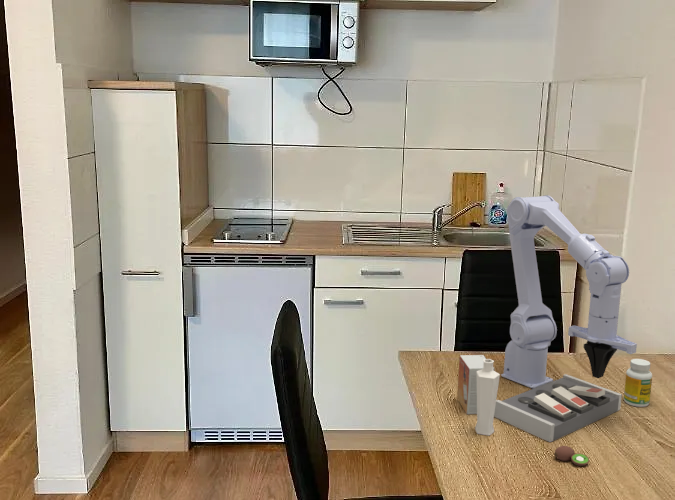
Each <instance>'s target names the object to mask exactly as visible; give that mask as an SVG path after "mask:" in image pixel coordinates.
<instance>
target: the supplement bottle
mask: <svg viewBox="0 0 675 500" xmlns="http://www.w3.org/2000/svg"><path fill="white" fill-rule="evenodd" d="M629 366H630V367H629V368H628V369H627V370H626V372H625V382H624V389H623V390H624V393H623V400H624V401H623V402H625V403H626V404H628V405H630V406H633V407H637V408H639V407H641V408H643V407H644V408H645V407H647V406H648V405H650V400H651V392H652V383H653V373H652V372H651V371H650V369H651V362H650V361H649V360H646V359H642V358H632V359H630V363H629Z"/></svg>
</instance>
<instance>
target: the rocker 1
mask: <svg viewBox="0 0 675 500" xmlns="http://www.w3.org/2000/svg"><path fill="white" fill-rule="evenodd" d="M534 401H535V402H537V403H538V404H540V405H541V406H543V407H544V408H546V409H547V410H549V411H550V412H552V413H555V414H557V415H560V416H562V417H565V416H567V415H569V414H571V410H569V409H568V408H566V407H565V406H563V405H562V404H560V403H559V402H557V401H555V400H554V399H552V398H551V397H549V396H548V395H546V394H545V393H542V394H540V395H537V396H535V398H534Z"/></svg>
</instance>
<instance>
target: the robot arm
mask: <svg viewBox="0 0 675 500" xmlns="http://www.w3.org/2000/svg"><path fill="white" fill-rule="evenodd" d="M506 215H507V224H508V225H507V226H508V233H509V242H510V248H511V256H512V257H511V258H512V263H513V272H514V279H515V285H516V286H515V287H516V293H517V295H516V296H517V299H518V300H517V302H518V305H517V307H516V308H515V309H514V311H513V312H511V314H510V326H509V335H510V338H511V340H510V341H509V342H508V343H507V344H506V347H505V351H504V361H503V362H504V364H503V373H501V374H500V375H501V377H503V378H504V379H508V380H510V381H513V382H515V383H518V384H521V385H523V386H525V387H528V388H529V389H534V388H537V387H539V386H542V385H545V384H547V383H550V382H553V381H554V378H551V377H548V376H546V375H547V364H548V349H549V347H550V346H551V342H552V341H554V339H556V337H557V335H558V334H557V331H558V329H557V328H558V327H557V324H556V321H555V320H554V317H553V312H552V310H551V308H550V307H548V306H547V305H546V304H544V303H543V297H542V291H541V290H542V289H541V282H540V276H539V269H538V262H537V255H536V253H537V252H536V248H535V247H536V245H535V239H534V238H535V237H536V235H537V234H538V233H539V231H541V230H542V229H544V228H545V227H547V228H548V229H549V230H551V232H553V233H554V234H555V235H556V237H558V238H560V240H562V241H563V242H564V243H566V244H567V252H568V254H569V255H570V256H571V257H572V258H573V259H574V260H575V261H576V262H577V263H578V264H579V265H580V267H582V268H583V269H584V270H585V276H586V280H587V281H588V286H589V287H588V290H589V293H590V300H589V307H588V308H589V311H588V318H587V319H588V320H587V322H588V323H587V327H583V326H578V325H571V326H568V336H570V337H577V338H580V339H583V340H587V341H586V343H583V349H584V351H585V354H586V355H587V358H588V360H589V364H590V370H591V374H592V377H593V378H595V379H600V378H603V377H604V375H605V372H606V370H607V367H608V366H609V365H608V364H610V363H609V362H610V361H611V359H612V357H613V356H614V354H615V353H616V351H618V350H619V351H623V352H625V353H626V354H629V355H632V354H635V353H637V347H638V343H637V342H633V341H630V340H628V339H626V338H624V337H622V336H620V335H619V334H617V332H618V324H619V313H620V303H621V302H620V301H621V294H622V293H621V292H622V284H624V283H625V282H626V281H627V280H628V279H629V276H630V268H629V265H628V262H626V260H625V259H624V257H622V256H619V255H613V254H612V253H611V252H610V251H608V250H606V249H605V248H604V247H603V246H602V245H601V244H600V243H599V242H597V240H596V237H595V236H594V235H593V234H589V233H581V232H580V231H579V230H578V229H577V228H576V227H575V225H574V224H572V222H571V221H570V220H569V219H568V218H567V216H565V215H564V213H563V212H562V211H561V210H560V203H559V202H557V201H556V200H555V199H554V198H553V197H552V196H551V195H548V194H547V195H546V194H545V195H541V196H540V195H539V196H538V195H537V196H523V197H521V196H515V197H514V198H513V199H511V201H510V203H508V206H507V207H506ZM610 253H611V254H610Z"/></svg>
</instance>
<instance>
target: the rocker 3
mask: <svg viewBox="0 0 675 500" xmlns="http://www.w3.org/2000/svg"><path fill="white" fill-rule="evenodd" d="M568 391H570V392H573V393H575V394H578V395H582V396H589V397H595V398H598V397H600V396H602V395H605V390H603V389H596V388H589V387H582V386H574V387H571V388H569V389H568Z"/></svg>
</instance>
